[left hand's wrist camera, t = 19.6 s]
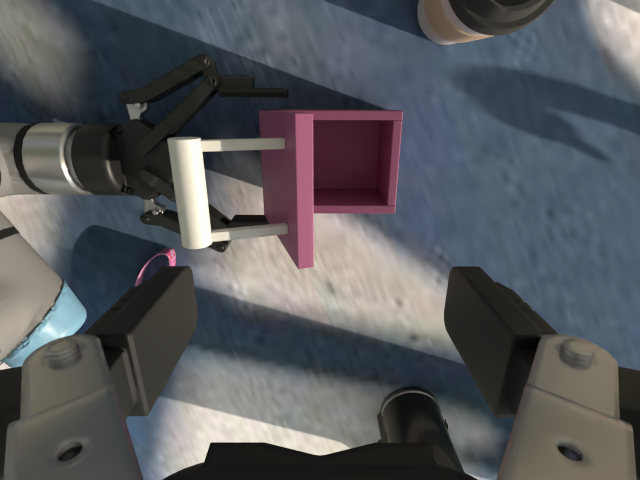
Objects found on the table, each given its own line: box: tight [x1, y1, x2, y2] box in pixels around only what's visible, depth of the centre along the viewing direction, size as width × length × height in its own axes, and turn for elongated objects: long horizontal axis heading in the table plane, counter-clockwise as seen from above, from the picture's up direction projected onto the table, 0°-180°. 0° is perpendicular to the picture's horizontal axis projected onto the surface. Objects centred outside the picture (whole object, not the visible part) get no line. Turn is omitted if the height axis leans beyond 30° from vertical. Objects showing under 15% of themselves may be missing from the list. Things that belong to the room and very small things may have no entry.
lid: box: [167, 110, 314, 269], centre depth 28 cm, size 14×10×9 cm
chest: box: [273, 109, 403, 213], centre depth 40 cm, size 13×10×9 cm
